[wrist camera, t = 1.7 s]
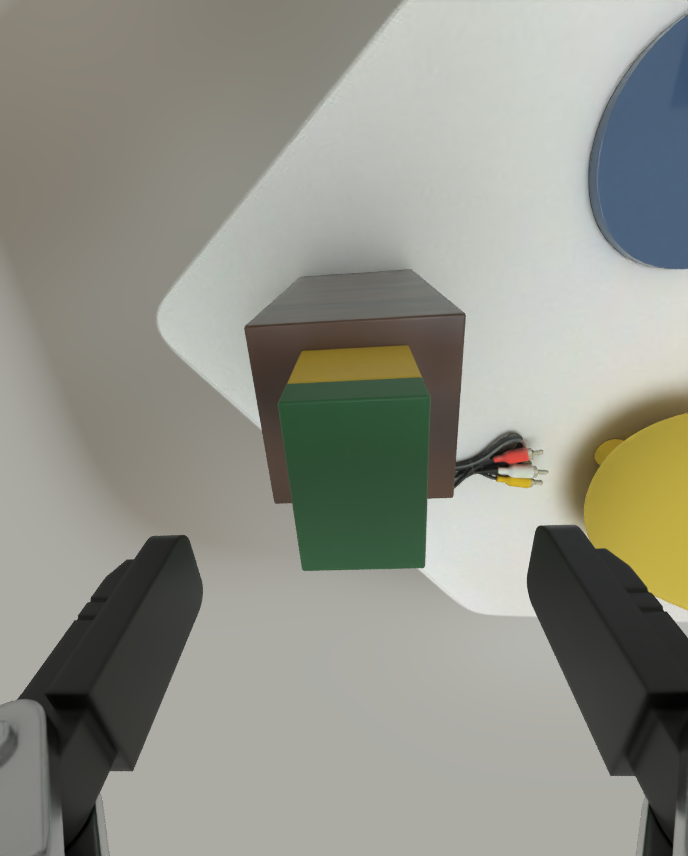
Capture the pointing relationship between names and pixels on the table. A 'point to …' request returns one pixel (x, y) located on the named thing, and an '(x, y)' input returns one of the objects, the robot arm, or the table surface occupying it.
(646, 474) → the teapot
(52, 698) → the robot arm
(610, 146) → the plate
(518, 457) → the composite cable
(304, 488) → the sponge
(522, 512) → the table surface
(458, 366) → the tall dark wooden block
